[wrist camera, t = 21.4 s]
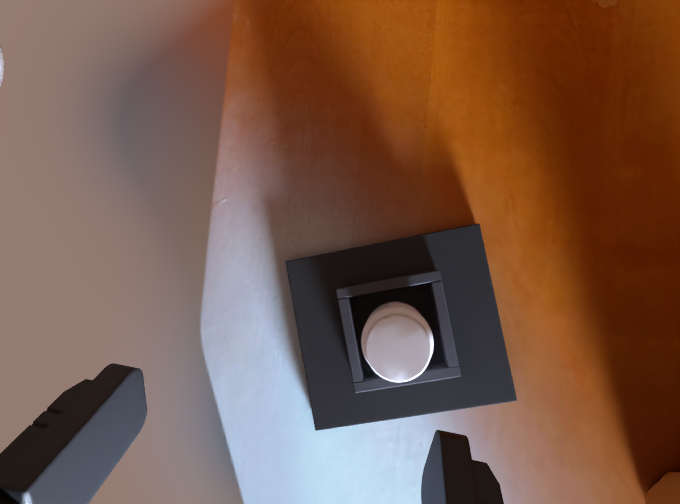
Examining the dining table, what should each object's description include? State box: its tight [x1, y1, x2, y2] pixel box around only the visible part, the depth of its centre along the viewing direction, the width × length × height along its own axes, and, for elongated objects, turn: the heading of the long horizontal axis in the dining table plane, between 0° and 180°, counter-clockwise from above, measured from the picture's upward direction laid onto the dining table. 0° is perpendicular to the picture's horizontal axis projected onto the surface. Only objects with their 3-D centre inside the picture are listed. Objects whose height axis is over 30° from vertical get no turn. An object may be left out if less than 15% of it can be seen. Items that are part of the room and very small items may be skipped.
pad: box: [286, 224, 517, 431], centre depth 32 cm, size 16×14×3 cm
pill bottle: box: [361, 301, 434, 382], centre depth 29 cm, size 5×5×8 cm
